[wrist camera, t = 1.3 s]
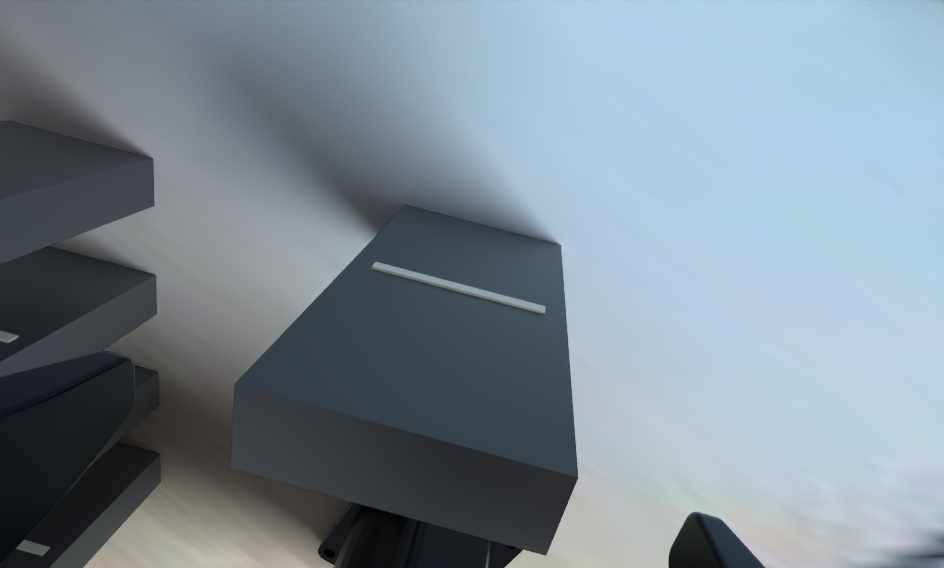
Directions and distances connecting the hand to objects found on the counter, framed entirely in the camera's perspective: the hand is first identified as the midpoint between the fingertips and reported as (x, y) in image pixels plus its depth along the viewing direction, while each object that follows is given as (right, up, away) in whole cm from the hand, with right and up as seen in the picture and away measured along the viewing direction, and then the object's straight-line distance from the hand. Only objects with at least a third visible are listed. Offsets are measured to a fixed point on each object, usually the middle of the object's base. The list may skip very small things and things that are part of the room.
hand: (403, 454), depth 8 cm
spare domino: (+1, +4, +9) cm, 10 cm away
